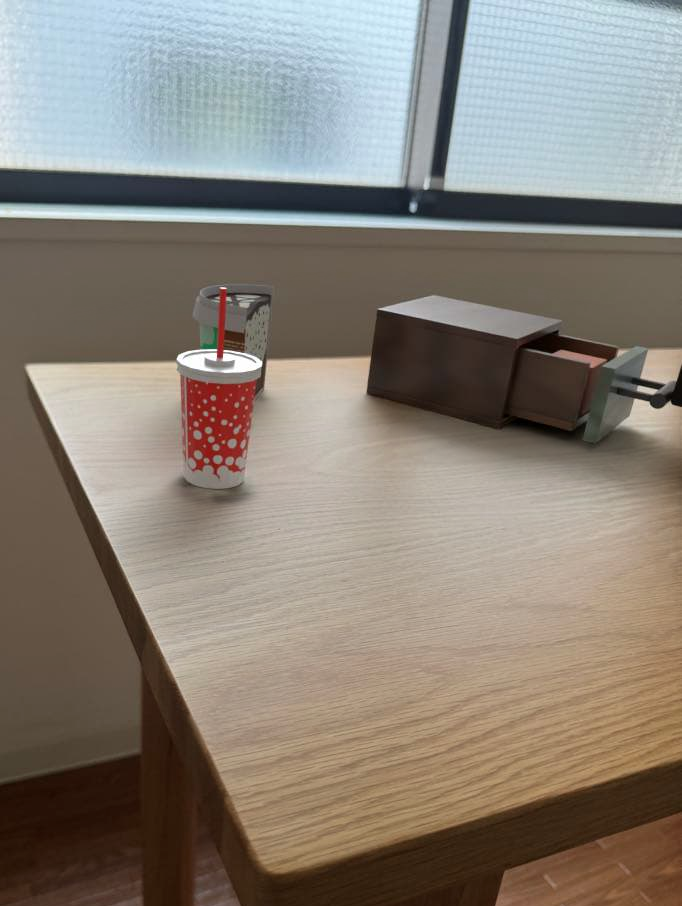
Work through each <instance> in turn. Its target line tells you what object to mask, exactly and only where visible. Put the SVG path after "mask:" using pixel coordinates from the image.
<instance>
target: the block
mask: <svg viewBox="0 0 682 906" xmlns="http://www.w3.org/2000/svg"><path fill="white" fill-rule="evenodd" d="M553 354H555V355H560V356H564V357H569V358H573V359H578V360H583V361H587V362H590V367H589V372H588V376H587V380H586V384H585V388H584V392H583V396H582V400H581V404H580V408H579V412H578V415H580V416H581V415H583V414H584V413H586V412H587V411H588V410H590V409H591V405H592V401H593V397H594V393H595V389H596V385H597V381H598V377H599V374H600V370H601V366H603V365H604V364H606V363H607V359H602V358H597V357H593V356H588V355H583V354H579V353H574V352H569V351H565V350H559V351H557V352H555V353H553Z"/></svg>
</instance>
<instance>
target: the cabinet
mask: <svg viewBox="0 0 682 906" xmlns="http://www.w3.org/2000/svg"><path fill="white" fill-rule="evenodd" d="M563 324H564V320H562V319H557V318H552V317H547V316H542V315H538V314H532V313H526V312H521V311H516V310H511V309H507V308H501V307H496V306H491V305H487V304H480V303H475V302H471V301H465V300H460V299H456V298H450V297H445V296H440V295H434V294H431V295H429V296H424V297H421V298H416V299H412V300H408V301H403V302H400V303H395V304H392V305H387V306H384V307H379V308H376V315H375V323H374V331H373V338H372V345H371V354H370V361H369V368H368V376H367V383H366V394H368V395H372V396H374V397H375V396H376V397H379V398H382V399H387V400H390V401H394V402H397V403H401V404H405V405H409V406H412V407H416V408H420V409H423V410H427V411H429V412H434V413H438V414H442V415H446V416H449V417H453V418H457V419H460V420H464V421H467V422H471V423H475V424H479V425H482V426H486V427H489V428H493V429H497V430H500V429H501V428H503V427H505V426H506V425H508V424H510V423H512V422H513V421H515V420H517V419H518V418H519V417H516V416H512V415H508V414H505V410H506V406H507V401H508V396H509V391H510V387H511V382H512V377H513V372H514V367H515V363H516V358H517V353H518V348H519V347H518V346H521V345H523V344H525V343H528V342H530V341H533V340H535V339H537V338H540V337H542V336H545V335H547V334H549V333H557V334H561V331H562V327H563Z"/></svg>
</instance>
